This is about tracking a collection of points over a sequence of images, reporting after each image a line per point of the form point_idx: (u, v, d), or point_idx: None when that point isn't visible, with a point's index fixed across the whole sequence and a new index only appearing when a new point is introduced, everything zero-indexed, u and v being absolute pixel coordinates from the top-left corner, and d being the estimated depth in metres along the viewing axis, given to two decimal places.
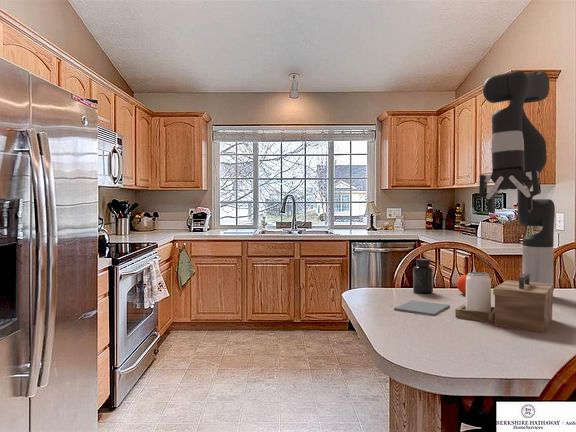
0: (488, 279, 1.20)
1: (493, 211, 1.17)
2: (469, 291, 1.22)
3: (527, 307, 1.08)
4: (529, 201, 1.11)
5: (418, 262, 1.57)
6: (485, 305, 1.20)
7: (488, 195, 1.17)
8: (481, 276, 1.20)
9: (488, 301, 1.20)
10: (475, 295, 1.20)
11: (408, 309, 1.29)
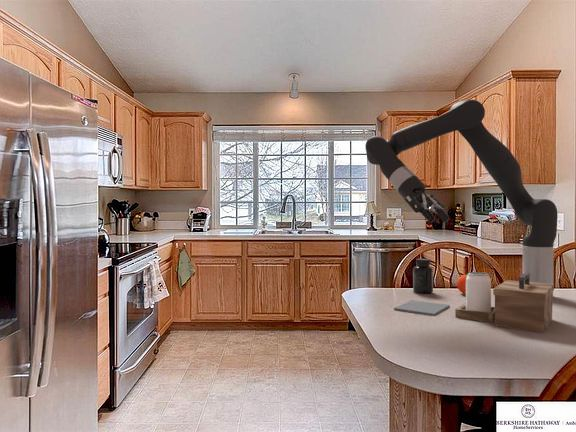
0: (488, 279, 1.20)
1: (445, 219, 1.34)
2: (469, 291, 1.22)
3: (527, 307, 1.08)
4: None
5: (418, 262, 1.57)
6: (485, 305, 1.20)
7: None
8: (481, 276, 1.20)
9: (488, 301, 1.20)
10: (475, 295, 1.20)
11: (408, 309, 1.29)
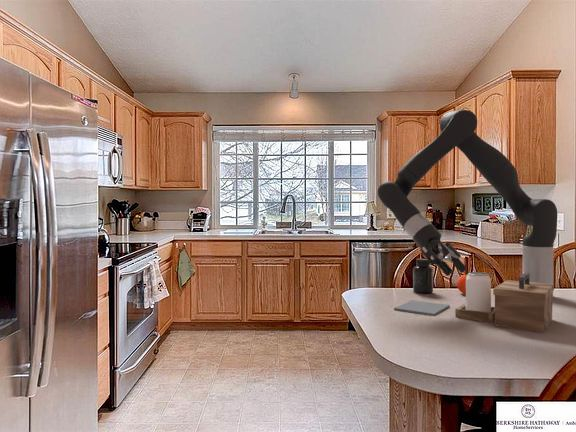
0: (488, 279, 1.20)
1: (462, 270, 1.30)
2: (469, 291, 1.22)
3: (527, 307, 1.08)
4: None
5: (418, 262, 1.57)
6: (486, 305, 1.20)
7: None
8: (481, 276, 1.20)
9: (488, 301, 1.20)
10: (475, 295, 1.20)
11: (408, 309, 1.29)
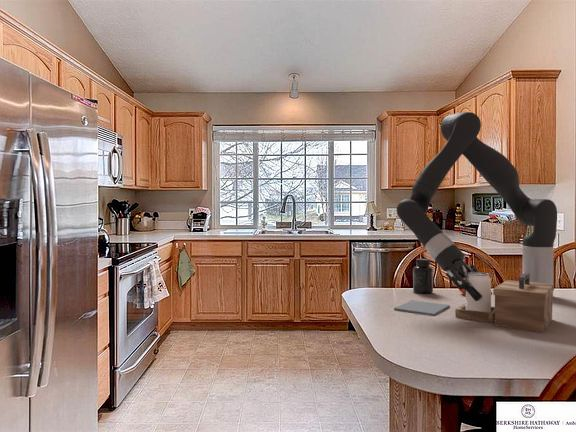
0: (488, 279, 1.20)
1: None
2: None
3: (527, 307, 1.08)
4: None
5: (418, 262, 1.57)
6: (485, 305, 1.20)
7: None
8: (481, 276, 1.20)
9: (488, 301, 1.20)
10: None
11: (408, 309, 1.29)
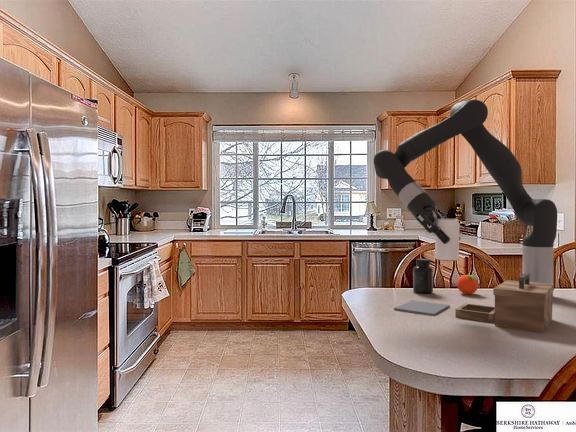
0: (456, 223, 1.25)
1: None
2: None
3: (527, 307, 1.08)
4: None
5: (418, 262, 1.57)
6: (453, 248, 1.24)
7: None
8: (450, 220, 1.25)
9: (456, 244, 1.25)
10: None
11: (408, 309, 1.29)
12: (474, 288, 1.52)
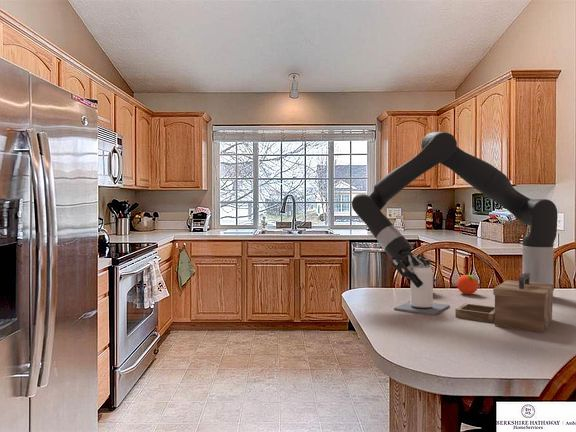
0: (430, 271, 1.30)
1: None
2: (413, 283, 1.31)
3: (527, 307, 1.08)
4: None
5: None
6: (428, 295, 1.29)
7: None
8: (424, 268, 1.30)
9: (430, 291, 1.30)
10: None
11: (408, 309, 1.29)
12: (474, 288, 1.52)
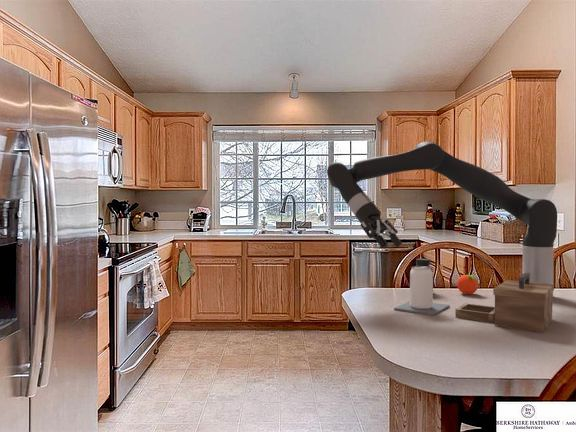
0: (430, 272, 1.29)
1: (397, 244, 1.44)
2: (412, 284, 1.30)
3: (527, 307, 1.08)
4: None
5: (418, 262, 1.57)
6: (427, 297, 1.29)
7: None
8: (423, 269, 1.29)
9: (430, 292, 1.29)
10: (418, 287, 1.29)
11: (408, 309, 1.29)
12: (474, 288, 1.52)
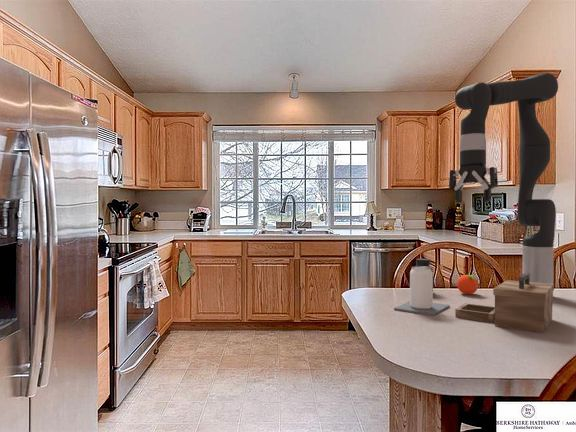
0: (430, 272, 1.29)
1: (460, 201, 1.39)
2: (412, 284, 1.30)
3: (527, 307, 1.08)
4: (487, 192, 1.32)
5: (418, 262, 1.57)
6: (427, 297, 1.29)
7: (456, 187, 1.39)
8: (423, 269, 1.29)
9: (430, 292, 1.29)
10: (418, 287, 1.29)
11: (408, 309, 1.29)
12: (474, 288, 1.52)
